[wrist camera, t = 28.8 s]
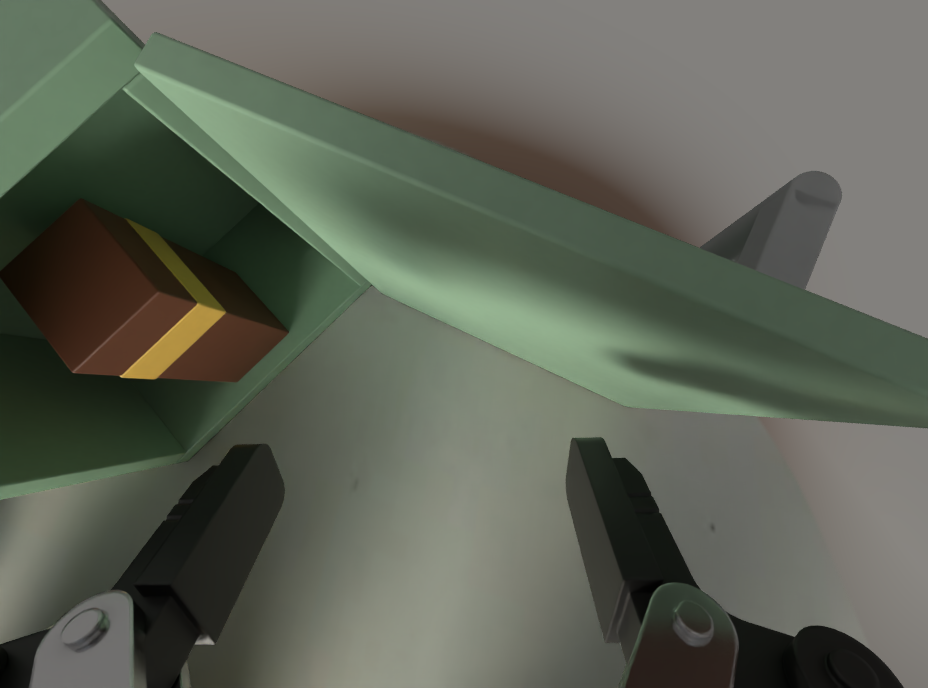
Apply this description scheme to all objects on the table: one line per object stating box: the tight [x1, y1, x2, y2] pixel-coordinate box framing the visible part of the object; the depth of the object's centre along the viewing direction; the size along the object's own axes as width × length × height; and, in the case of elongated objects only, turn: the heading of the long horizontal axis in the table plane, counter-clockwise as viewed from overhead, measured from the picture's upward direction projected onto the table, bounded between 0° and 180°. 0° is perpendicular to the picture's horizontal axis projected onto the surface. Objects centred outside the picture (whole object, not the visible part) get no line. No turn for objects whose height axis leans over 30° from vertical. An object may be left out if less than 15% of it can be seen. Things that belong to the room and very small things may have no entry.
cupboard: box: [0, 0, 372, 500], centre depth 15 cm, size 9×15×16 cm, turn 134°
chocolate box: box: [0, 198, 289, 383], centre depth 18 cm, size 5×4×8 cm
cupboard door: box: [134, 32, 928, 428], centre depth 14 cm, size 6×15×16 cm, turn 64°
